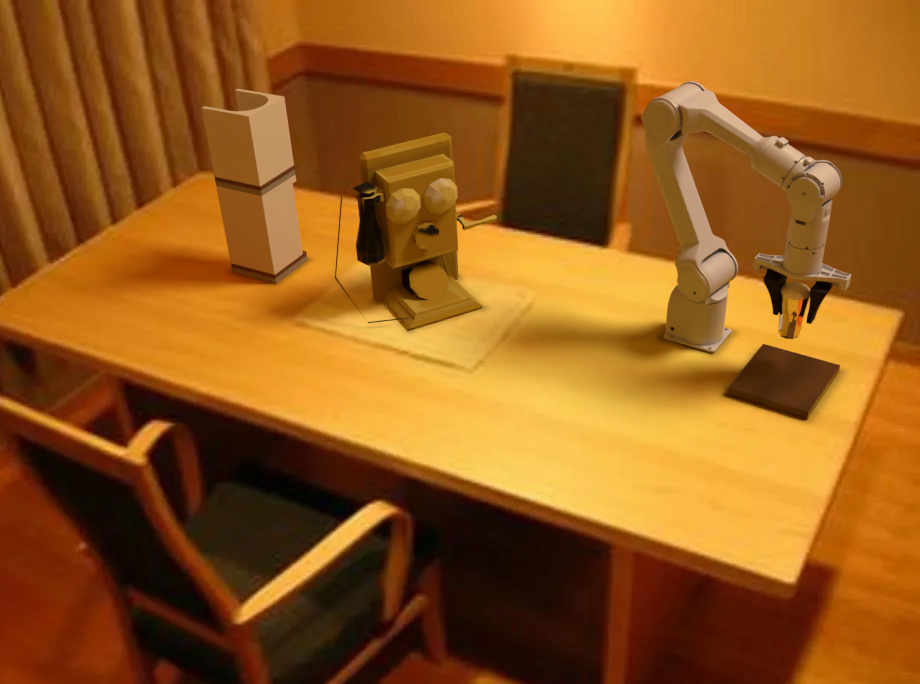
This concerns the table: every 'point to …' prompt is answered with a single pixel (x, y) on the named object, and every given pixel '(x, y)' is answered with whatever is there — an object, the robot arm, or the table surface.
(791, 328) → the milkshake
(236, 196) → the scooped banded pillar
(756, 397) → the board
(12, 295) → the table surface
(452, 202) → the vintage telephone
